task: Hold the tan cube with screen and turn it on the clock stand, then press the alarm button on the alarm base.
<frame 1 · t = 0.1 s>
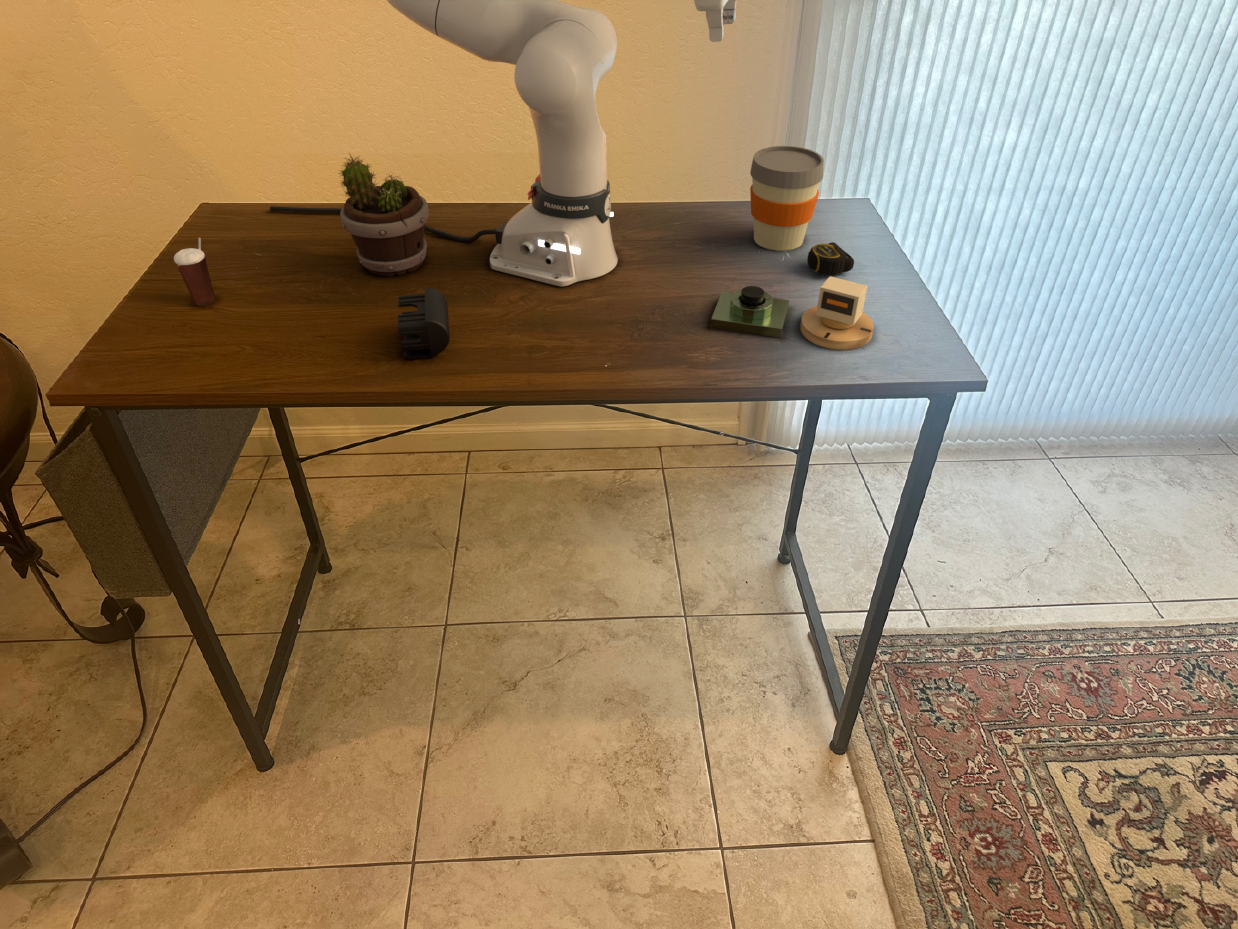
hand: (723, 31, 121), 39 cm above the table, tool pointing down, fingers open, 8 cm apart
reusable coffee cup: (778, 240, 158), on the table
alarm button: (752, 296, 134), point 4 cm above the table, slide at 0.1 cm
tan cube with screen: (841, 303, 131), point 5 cm above the table, hinge at 0.0°
tape measure: (828, 269, 149), on the table
clock stand: (836, 330, 134), on the table
flowerpot: (394, 264, 152), on the table
end cap: (428, 343, 132), on the table
alarm base: (750, 318, 137), on the table
milkshake: (207, 301, 142), on the table
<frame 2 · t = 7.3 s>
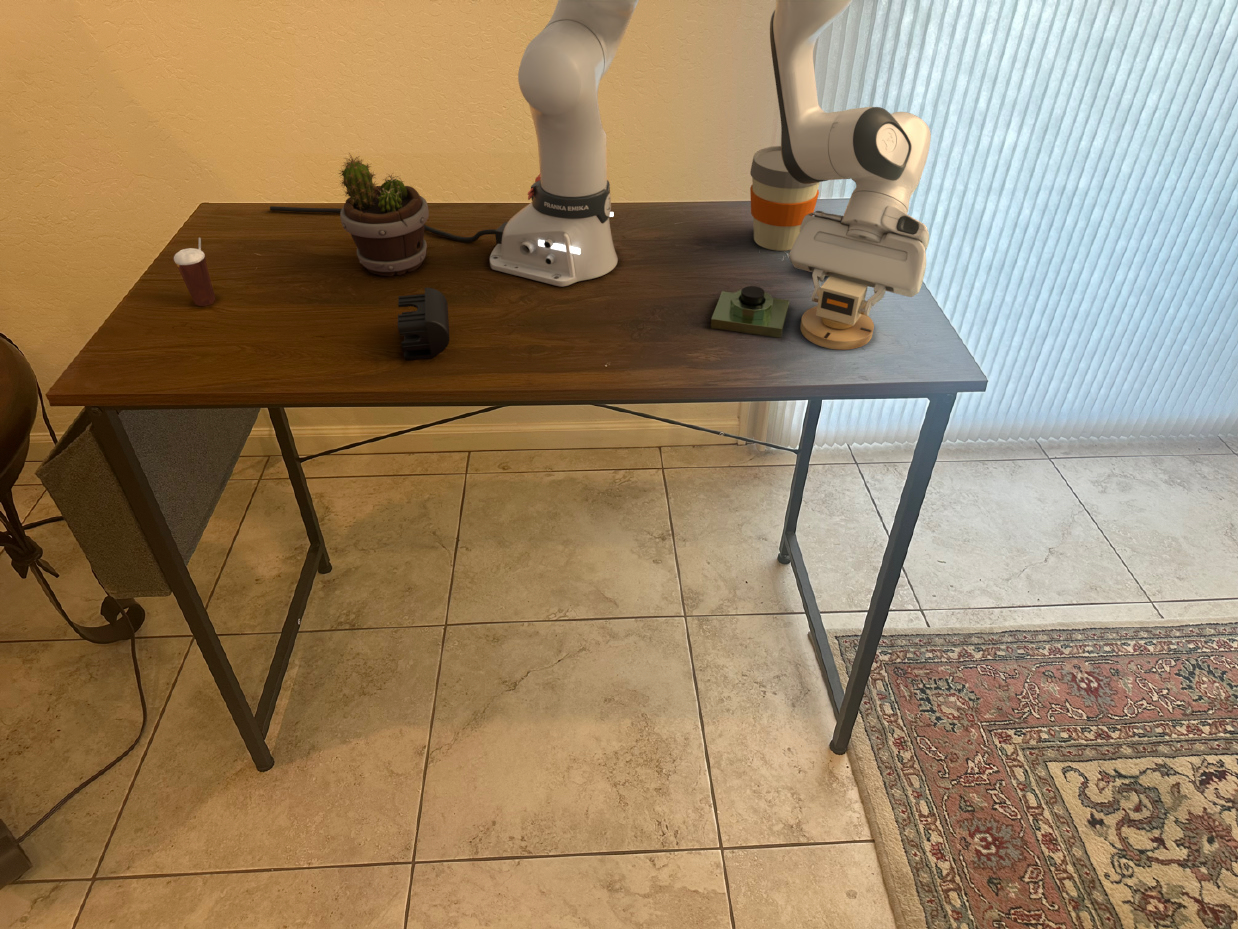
hand: (839, 307, 131), 4 cm above the table, tool tilted 45°, fingers closed on tan cube with screen, 6 cm apart
tan cube with screen: (841, 303, 131), point 5 cm above the table, hinge at 0.1°, touching gripper
everything else where it was.
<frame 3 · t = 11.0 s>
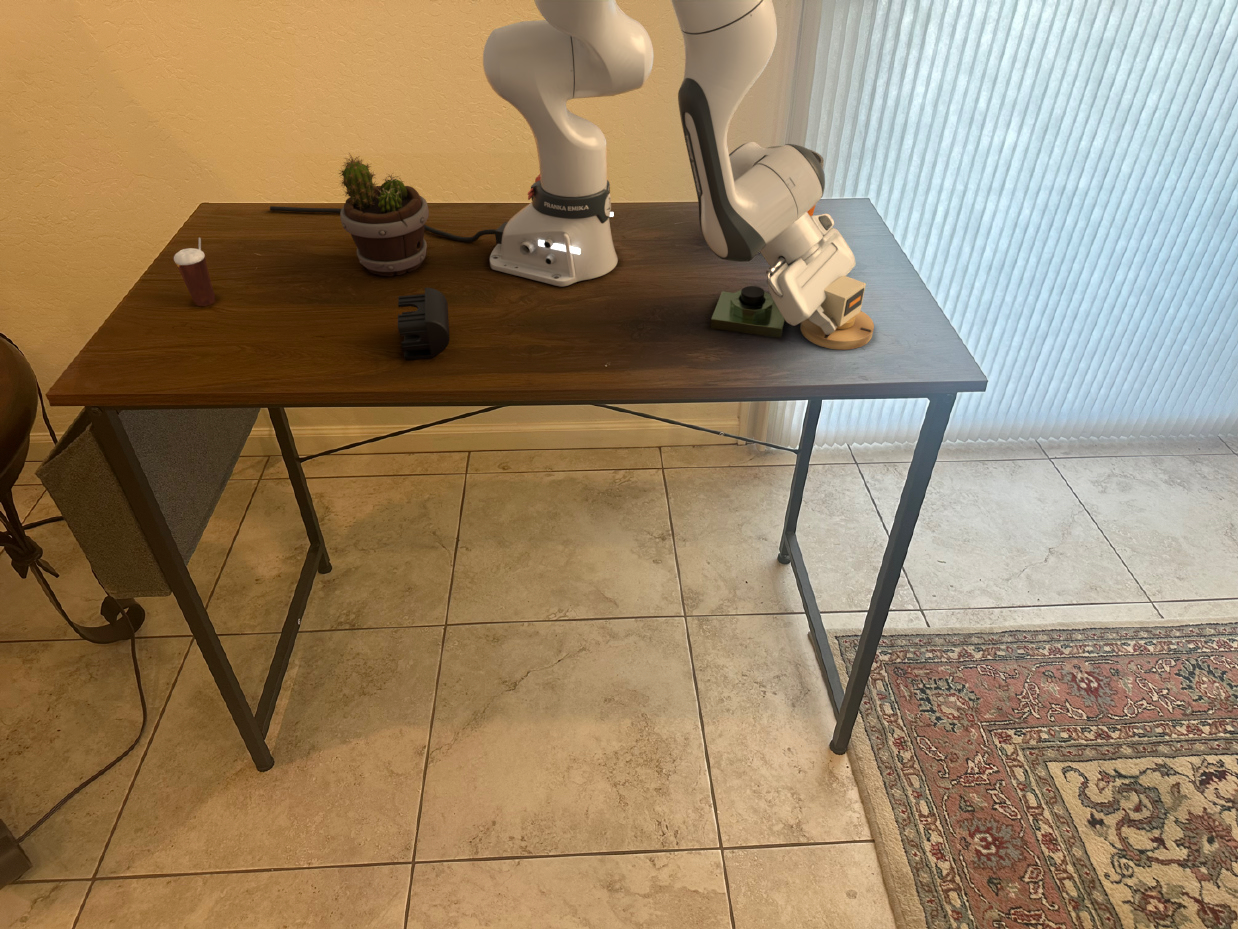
hand: (842, 319, 132), 2 cm above the table, tool tilted 45°, fingers closed on tan cube with screen, 6 cm apart
tan cube with screen: (841, 303, 131), point 5 cm above the table, hinge at 78.4°, touching gripper
everything else where it was.
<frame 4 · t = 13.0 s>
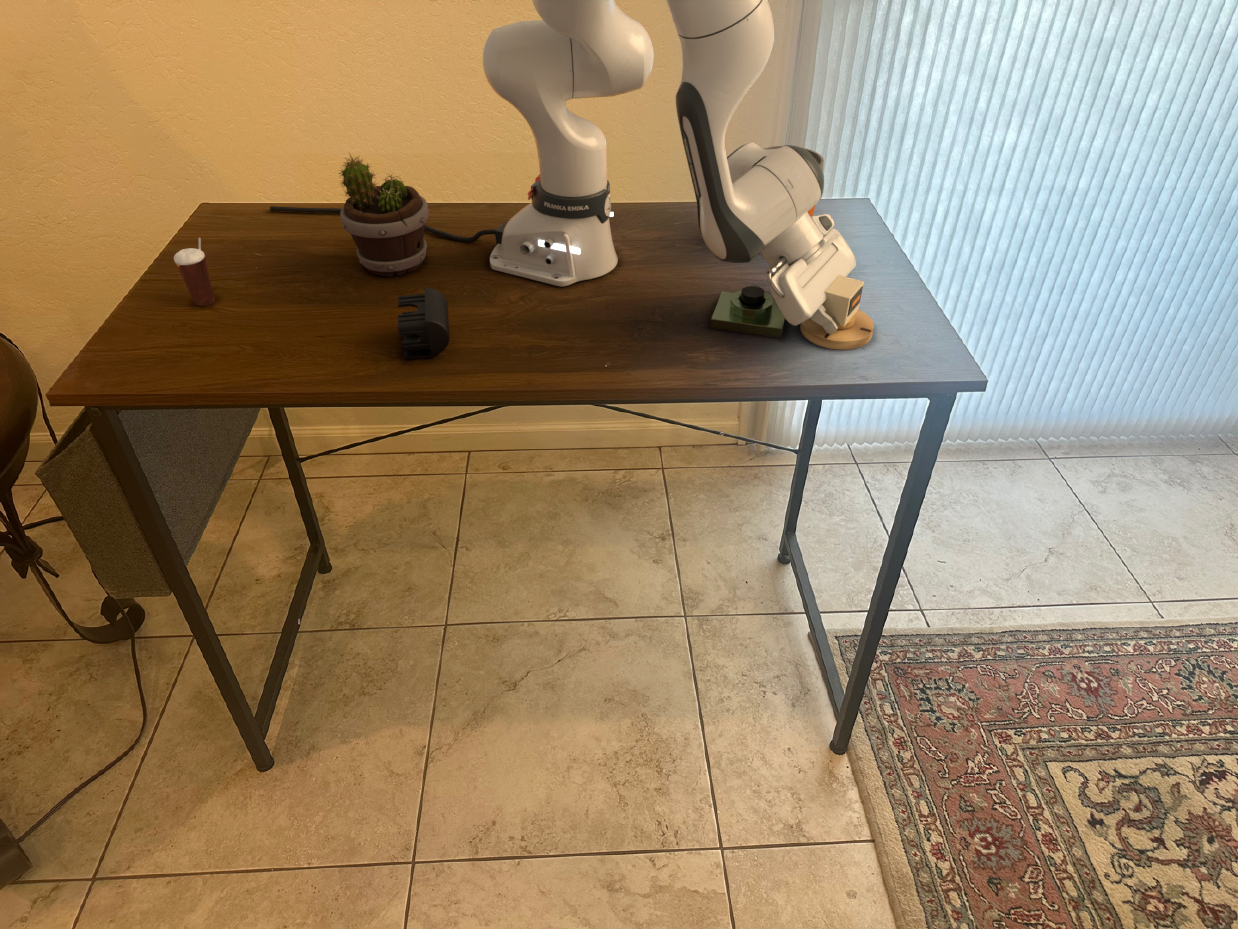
hand: (843, 319, 132), 2 cm above the table, tool tilted 45°, fingers closed on tan cube with screen, 6 cm apart
tan cube with screen: (841, 303, 131), point 5 cm above the table, hinge at 88.4°, touching gripper
everything else where it was.
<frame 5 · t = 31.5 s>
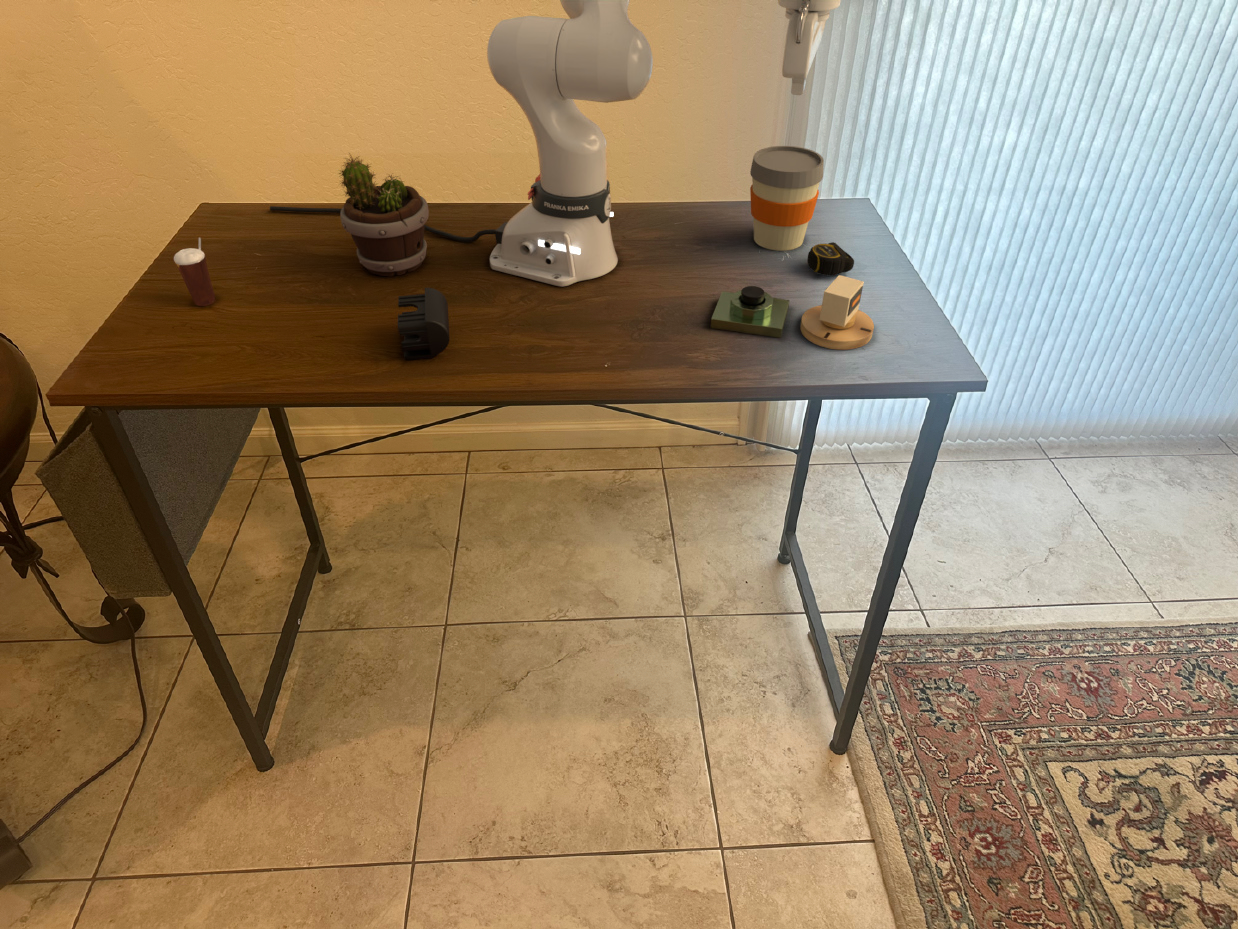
hand: (797, 92, 131), 29 cm above the table, tool pointing down, fingers closed
tan cube with screen: (841, 303, 131), point 5 cm above the table, hinge at 88.5°
everything else where it was.
at the end: tan cube with screen at +88° (first picture: +0°); alarm button pushed in 1.1 cm at the most during the clip, back to where it started at the end; alarm button slide at 0.1 cm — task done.
